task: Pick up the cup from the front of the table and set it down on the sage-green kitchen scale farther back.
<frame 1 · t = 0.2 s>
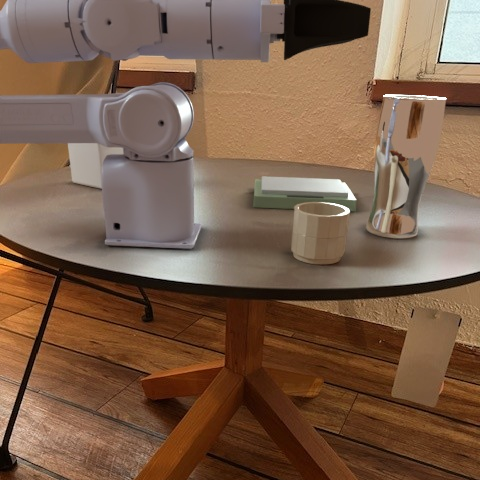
hand: (361, 25, 46), 21 cm above the table, tool horizontal, fingers open, 7 cm apart
medicine bottle: (104, 184, 80), on the table
scale: (301, 199, 74), on the table
cup: (316, 256, 53), on the table
beer glass: (391, 232, 61), on the table
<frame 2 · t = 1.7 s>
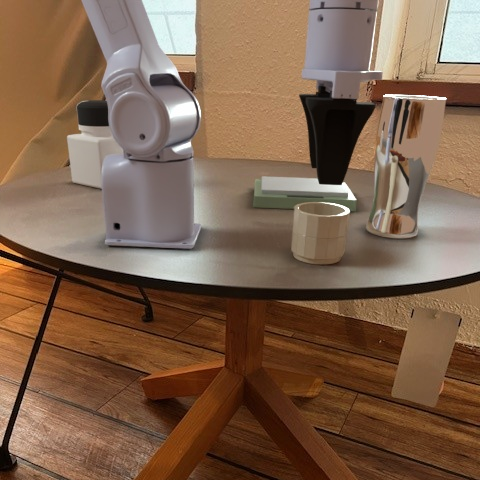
hand: (325, 175, 49), 8 cm above the table, tool pointing down, fingers open, 7 cm apart
nothing on the table moved.
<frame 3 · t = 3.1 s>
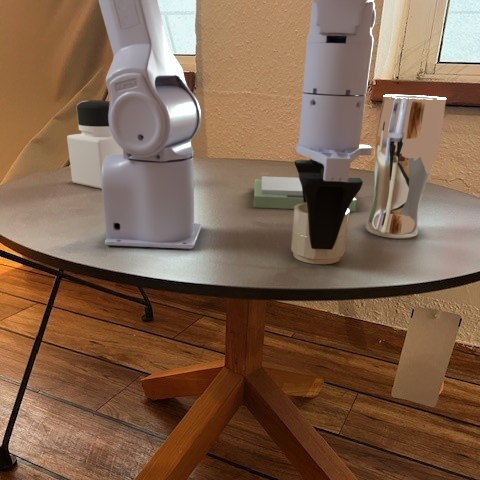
hand: (318, 238, 52), 2 cm above the table, tool pointing down, fingers closed on cup, 5 cm apart
cup: (316, 255, 53), on the table, touching gripper
everything else where it was.
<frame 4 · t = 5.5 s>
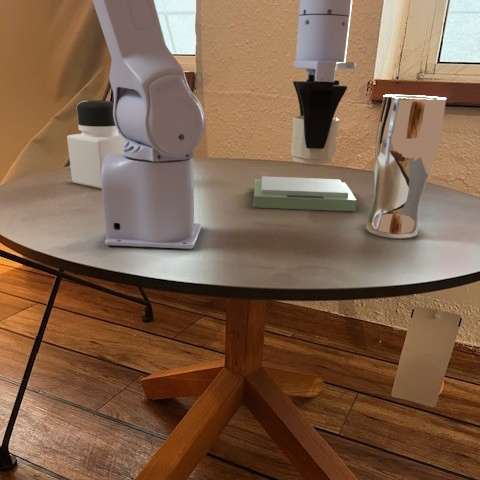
hand: (312, 144, 62), 9 cm above the table, tool pointing down, fingers closed on cup, 5 cm apart
cup: (312, 160, 63), point 7 cm above the table, touching gripper
everything else where it was.
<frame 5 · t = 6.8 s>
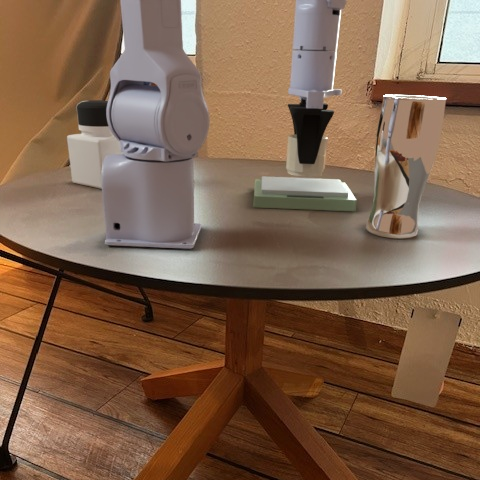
hand: (305, 159, 71), 6 cm above the table, tool pointing down, fingers closed on cup, 5 cm apart
cup: (304, 173, 72), point 4 cm above the table, touching gripper
everything else where it was.
when the fingers open (4 cm above the table, at t = 7.9 s): cup stays where it is, resting on scale.
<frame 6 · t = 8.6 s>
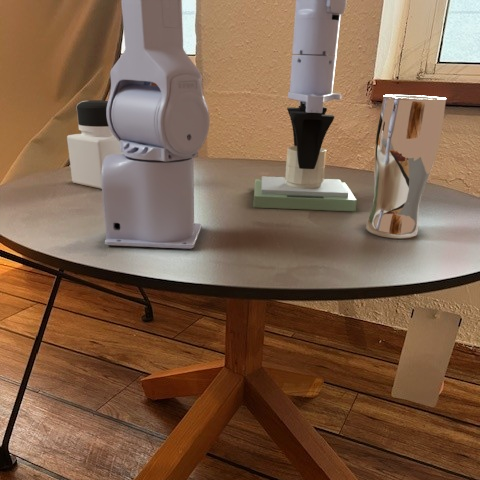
hand: (304, 163, 71), 5 cm above the table, tool pointing down, fingers open, 7 cm apart
cup: (303, 184, 73), point 2 cm above the table, touching scale
everything else where it was.
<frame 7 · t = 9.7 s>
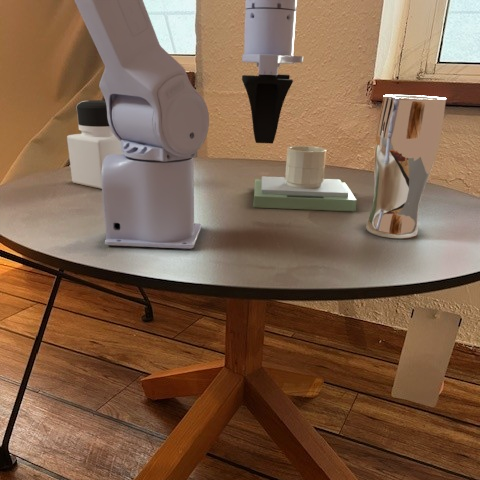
hand: (264, 138, 63), 9 cm above the table, tool pointing down, fingers open, 7 cm apart
nothing on the table moved.
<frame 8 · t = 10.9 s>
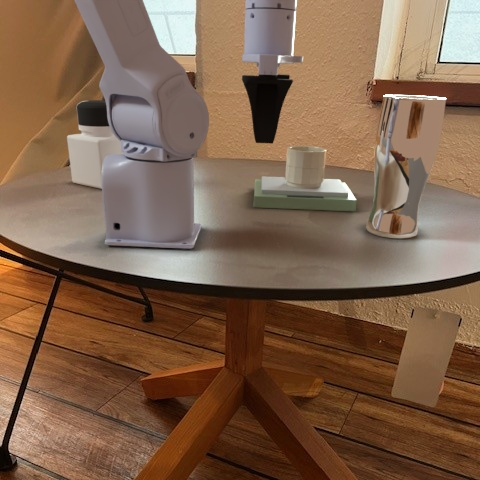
hand: (264, 138, 63), 9 cm above the table, tool pointing down, fingers open, 7 cm apart
nothing on the table moved.
at the end: cup inside the target area on the scale (0.2 cm from its centre), point 2.2 cm above the scale's base; cup tilted 0°; the gripper is holding nothing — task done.
